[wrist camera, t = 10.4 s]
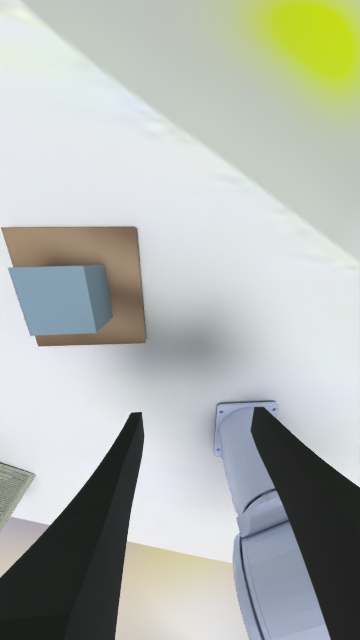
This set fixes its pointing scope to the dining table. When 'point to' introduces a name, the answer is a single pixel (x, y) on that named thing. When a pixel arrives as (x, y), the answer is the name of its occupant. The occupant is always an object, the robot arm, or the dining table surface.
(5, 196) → the dining table surface
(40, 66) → the dining table surface
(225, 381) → the dining table surface
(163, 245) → the dining table surface
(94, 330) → the slate blue cube
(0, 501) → the skincare box
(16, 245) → the board
